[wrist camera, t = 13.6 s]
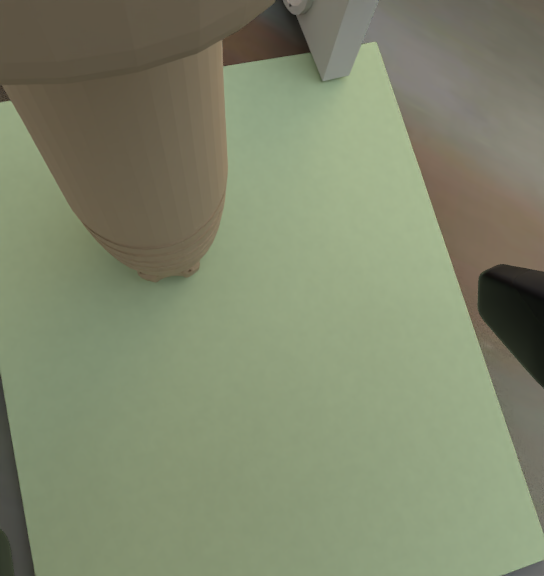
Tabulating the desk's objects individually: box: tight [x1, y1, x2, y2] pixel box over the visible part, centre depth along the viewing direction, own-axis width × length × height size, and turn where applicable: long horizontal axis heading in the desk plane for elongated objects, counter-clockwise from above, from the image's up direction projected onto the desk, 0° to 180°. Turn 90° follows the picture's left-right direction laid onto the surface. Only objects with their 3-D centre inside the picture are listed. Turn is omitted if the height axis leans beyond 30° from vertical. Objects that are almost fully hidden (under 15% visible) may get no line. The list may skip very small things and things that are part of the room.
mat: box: [0, 42, 544, 576], centre depth 17 cm, size 20×16×1 cm
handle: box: [0, 0, 276, 283], centre depth 10 cm, size 5×6×15 cm
